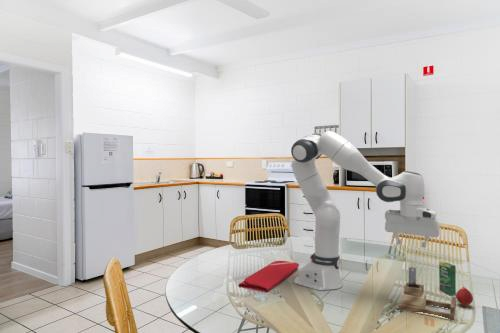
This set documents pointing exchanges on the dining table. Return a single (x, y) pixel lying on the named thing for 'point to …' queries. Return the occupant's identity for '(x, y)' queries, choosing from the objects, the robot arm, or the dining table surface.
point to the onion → (464, 297)
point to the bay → (434, 303)
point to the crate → (414, 296)
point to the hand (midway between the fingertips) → (411, 245)
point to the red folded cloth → (269, 276)
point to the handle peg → (412, 277)
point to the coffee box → (447, 278)
